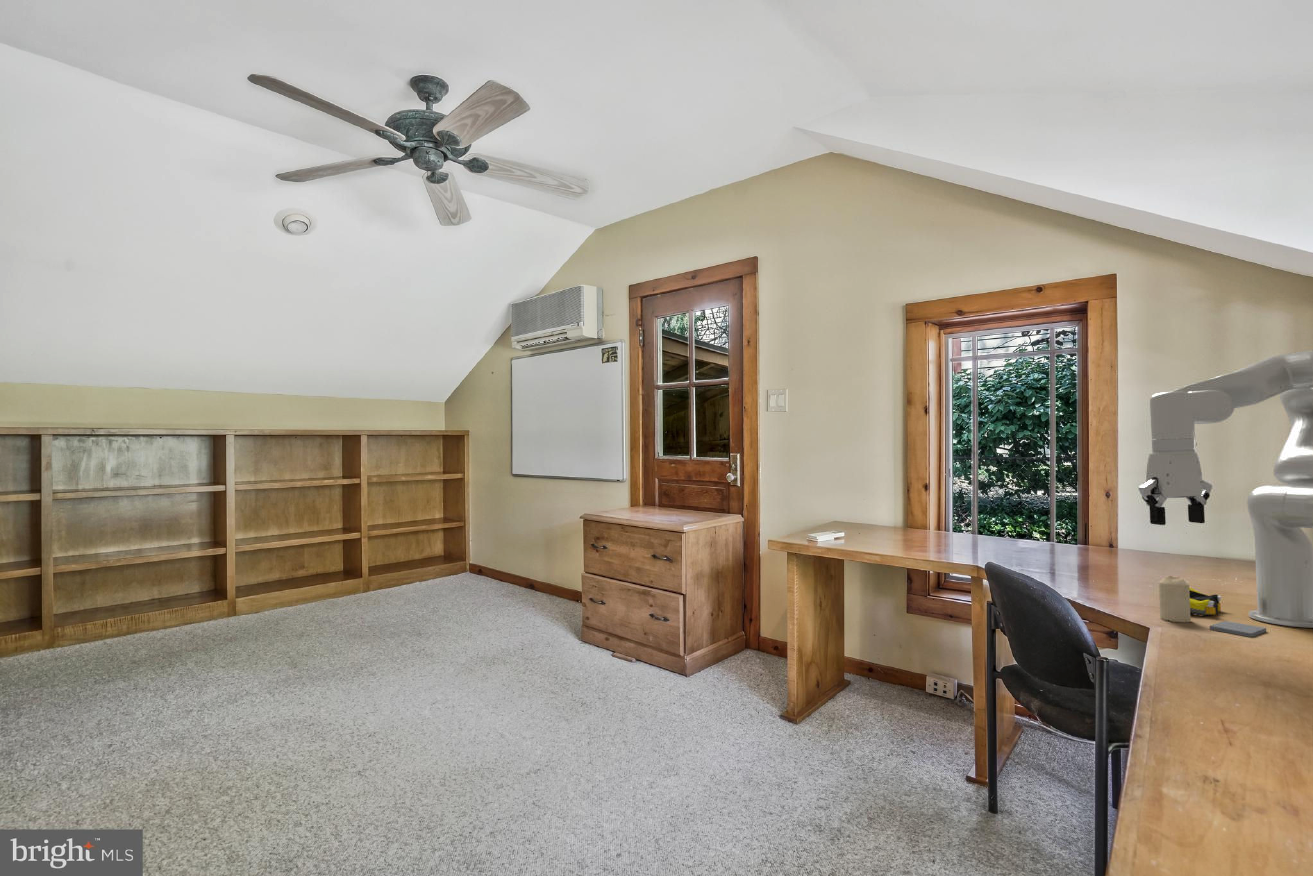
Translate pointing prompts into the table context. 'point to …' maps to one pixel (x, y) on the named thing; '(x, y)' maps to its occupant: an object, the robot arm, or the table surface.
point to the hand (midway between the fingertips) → (1177, 523)
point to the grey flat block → (1238, 628)
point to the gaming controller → (1203, 603)
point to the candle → (1174, 599)
